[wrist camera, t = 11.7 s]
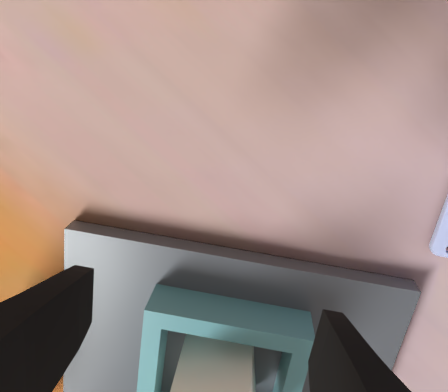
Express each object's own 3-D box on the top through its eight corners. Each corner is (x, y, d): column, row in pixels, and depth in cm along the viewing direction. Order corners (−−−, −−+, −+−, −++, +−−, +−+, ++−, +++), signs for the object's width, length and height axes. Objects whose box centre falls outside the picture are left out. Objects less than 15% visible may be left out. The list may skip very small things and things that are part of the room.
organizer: (413, 280, 23) (440, 321, 19) (350, 451, 28) (362, 509, 24) (74, 220, 23) (40, 249, 20) (71, 397, 28) (44, 445, 25)
